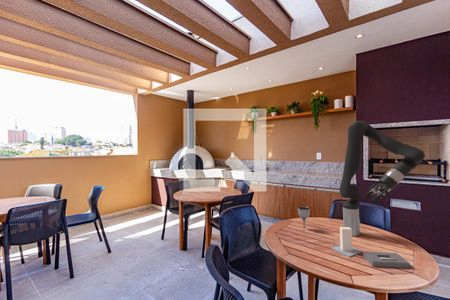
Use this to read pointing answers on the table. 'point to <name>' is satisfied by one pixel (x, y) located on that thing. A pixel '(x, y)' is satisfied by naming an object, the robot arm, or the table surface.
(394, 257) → the gray slotted base
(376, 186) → the robot arm
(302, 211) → the wine glass
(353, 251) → the mat
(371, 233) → the table surface
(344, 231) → the tall cream pillar
